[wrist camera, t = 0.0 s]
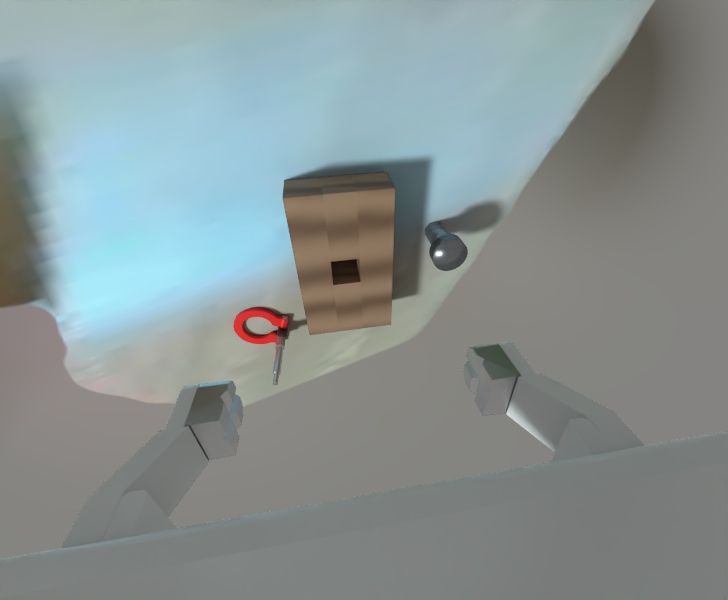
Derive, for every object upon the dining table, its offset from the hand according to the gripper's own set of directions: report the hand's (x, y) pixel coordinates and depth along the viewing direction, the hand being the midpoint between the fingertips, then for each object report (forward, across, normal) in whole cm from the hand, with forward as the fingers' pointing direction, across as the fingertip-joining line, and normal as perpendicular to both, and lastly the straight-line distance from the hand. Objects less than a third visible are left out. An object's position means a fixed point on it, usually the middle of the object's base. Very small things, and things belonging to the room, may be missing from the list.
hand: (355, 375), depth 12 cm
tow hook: (+42, +14, +29) cm, 53 cm away
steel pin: (+40, -17, +13) cm, 46 cm away
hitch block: (+40, -2, +15) cm, 43 cm away
